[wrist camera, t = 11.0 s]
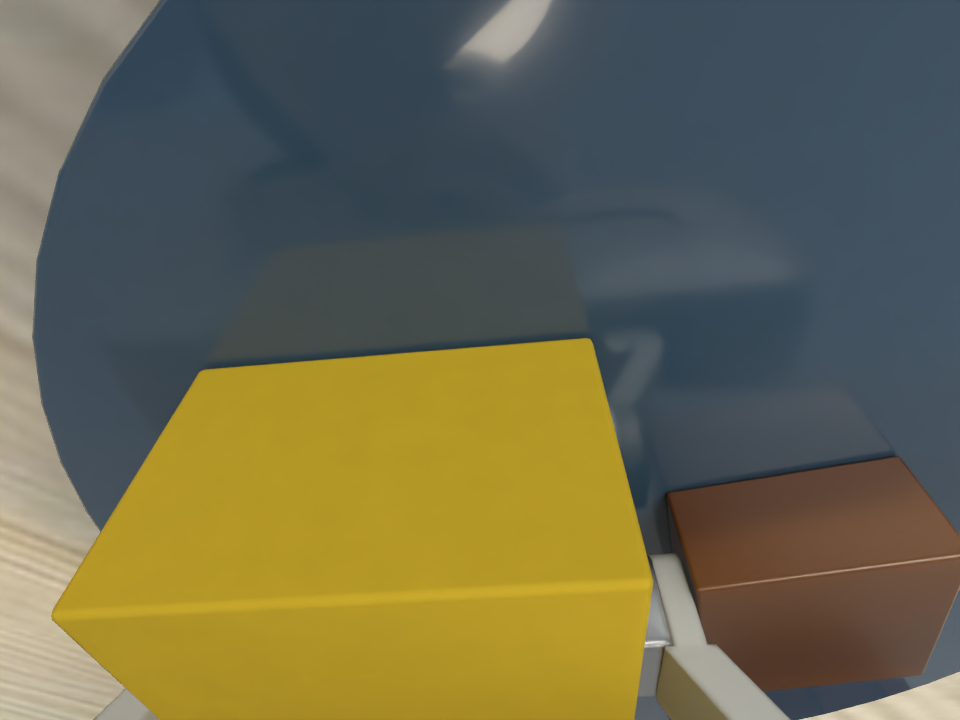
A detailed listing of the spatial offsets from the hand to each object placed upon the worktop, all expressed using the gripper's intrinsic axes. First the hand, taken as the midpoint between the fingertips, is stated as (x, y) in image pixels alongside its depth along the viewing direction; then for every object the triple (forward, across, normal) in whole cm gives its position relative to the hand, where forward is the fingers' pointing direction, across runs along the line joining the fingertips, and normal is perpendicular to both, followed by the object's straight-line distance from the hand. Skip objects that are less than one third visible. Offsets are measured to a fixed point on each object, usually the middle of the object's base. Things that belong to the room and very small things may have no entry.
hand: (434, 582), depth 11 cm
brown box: (+1, -7, 0) cm, 7 cm away
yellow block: (+1, 0, 0) cm, 1 cm away
